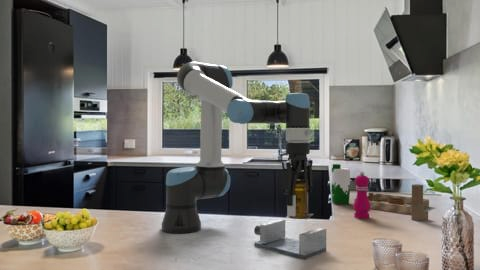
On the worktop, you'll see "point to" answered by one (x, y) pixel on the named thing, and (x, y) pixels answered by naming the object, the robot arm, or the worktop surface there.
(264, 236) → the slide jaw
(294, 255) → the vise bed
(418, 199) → the wooden block
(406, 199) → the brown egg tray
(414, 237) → the worktop surface
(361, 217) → the pepper mill
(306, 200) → the condiment
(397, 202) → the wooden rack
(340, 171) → the milk carton
